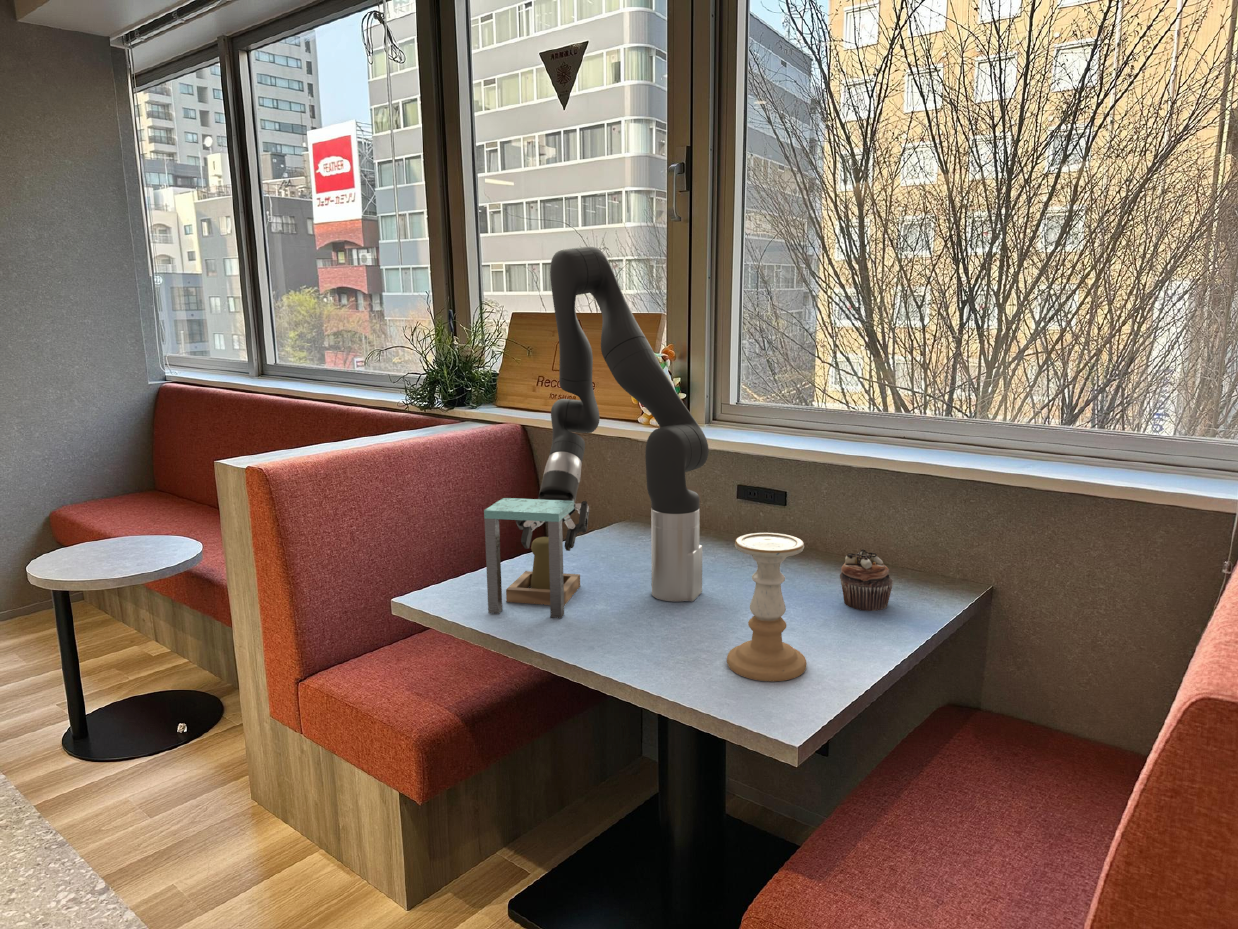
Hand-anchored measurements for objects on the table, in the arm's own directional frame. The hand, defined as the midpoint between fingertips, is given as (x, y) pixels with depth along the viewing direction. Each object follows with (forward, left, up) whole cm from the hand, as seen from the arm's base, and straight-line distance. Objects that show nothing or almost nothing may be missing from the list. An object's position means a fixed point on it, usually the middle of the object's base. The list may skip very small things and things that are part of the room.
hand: (546, 547), depth 167 cm
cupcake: (-59, -15, -9) cm, 62 cm away
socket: (0, +2, -9) cm, 9 cm away
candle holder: (-48, +19, -9) cm, 53 cm away
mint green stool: (-1, +9, -9) cm, 12 cm away
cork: (0, +1, -9) cm, 9 cm away
